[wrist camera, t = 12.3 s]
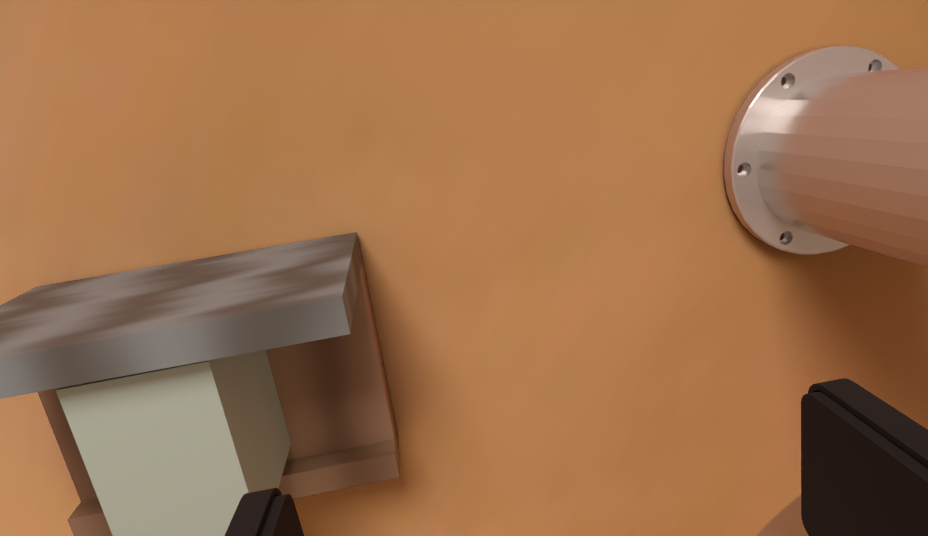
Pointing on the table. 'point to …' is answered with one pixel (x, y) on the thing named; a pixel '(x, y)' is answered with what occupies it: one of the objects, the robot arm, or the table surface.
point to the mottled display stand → (221, 352)
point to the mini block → (179, 443)
